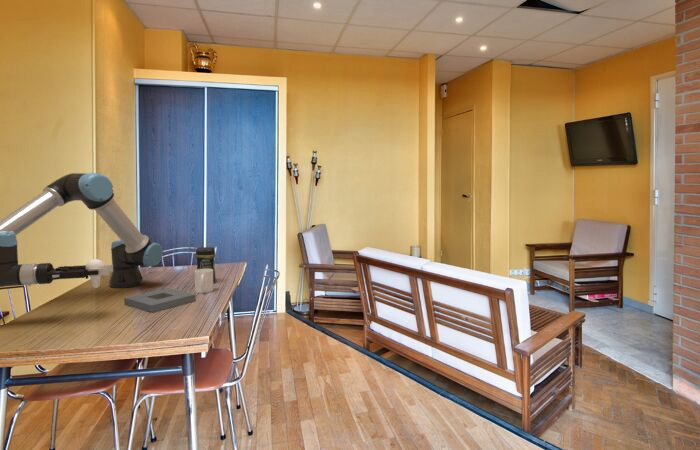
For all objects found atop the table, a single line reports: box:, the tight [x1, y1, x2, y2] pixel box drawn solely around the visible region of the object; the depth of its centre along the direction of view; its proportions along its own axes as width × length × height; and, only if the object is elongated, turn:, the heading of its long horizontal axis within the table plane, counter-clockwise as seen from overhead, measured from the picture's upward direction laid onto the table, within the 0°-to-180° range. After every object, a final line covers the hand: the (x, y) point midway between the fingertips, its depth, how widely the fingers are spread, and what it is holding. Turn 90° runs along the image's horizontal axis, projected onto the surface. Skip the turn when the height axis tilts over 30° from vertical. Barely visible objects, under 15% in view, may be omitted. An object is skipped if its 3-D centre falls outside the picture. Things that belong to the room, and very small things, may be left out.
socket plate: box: [123, 287, 197, 314], centre depth 173 cm, size 20×20×3 cm
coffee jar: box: [195, 246, 217, 284], centre depth 210 cm, size 10×8×19 cm
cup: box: [194, 268, 214, 294], centre depth 191 cm, size 8×12×10 cm
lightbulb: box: [85, 258, 105, 289], centre depth 153 cm, size 6×6×11 cm
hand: (110, 269), depth 155 cm, fingers closed on lightbulb, 6 cm apart
